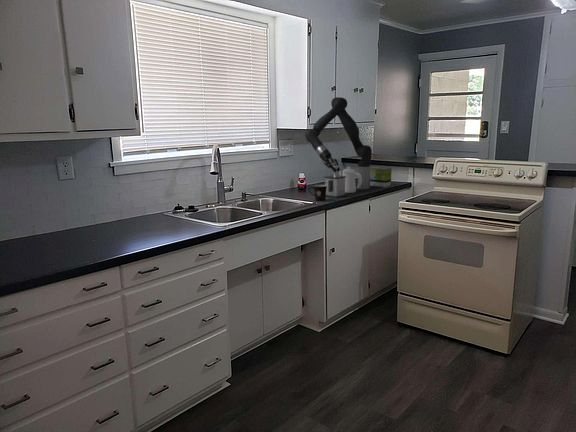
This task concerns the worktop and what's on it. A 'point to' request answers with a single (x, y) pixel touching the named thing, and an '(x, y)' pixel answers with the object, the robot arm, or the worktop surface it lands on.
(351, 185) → the coffeepot
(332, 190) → the utensil holder
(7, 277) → the worktop surface
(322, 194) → the coffee mug
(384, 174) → the tea box
